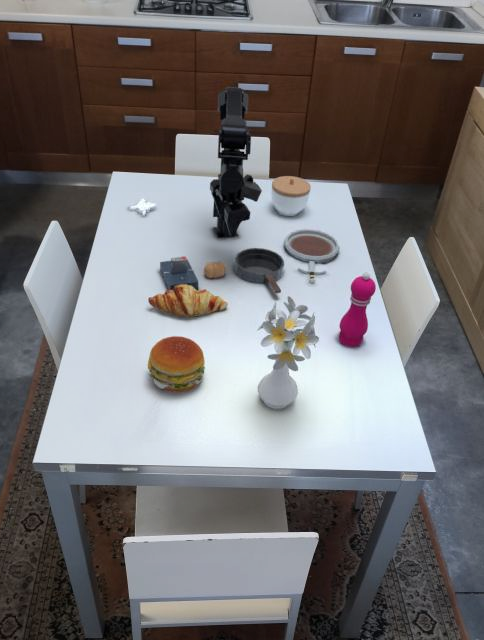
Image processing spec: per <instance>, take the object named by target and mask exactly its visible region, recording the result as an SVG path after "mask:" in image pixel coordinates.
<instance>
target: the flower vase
mask: <svg viewBox="0 0 484 640" xmlns="http://www.w3.org/2000/svg"><path fill="white" fill-rule="evenodd" d="M283 305H284V306H285V308H286V310H287V311H288V313H289V314H288V316H287V314H286V313H285V312H284V311H283V310H281V309H277V301H275V302H274V304H273V306H272V309H271V310H269V311H268V312H267V313H266V314H265V318H264V319H265V321H262V323H261V325H260V326H258V328H257V329H256V332H257V331H260V330H261V329H263V330H264V332H266V333H267V334H268V335H266V336H264V337H263V338H262V340H261V341H260V345H261V347H264V348H266V347H269V346H271V345H272V344H274V345H273V346H274V350H275V352H276V353H272V354H268V355H267V358H268V359H269V360H273V361H274V363H273V365H272V371H271V372H270V373H268V374H266V375H264V376H263V377H262V378H261V379H260V380H259V383H258V385H257V393H258V397H260V399H261V400H262V401H263V403H264V404H265V405H266V406H267V407H268V408H271V409H274V410H281V409H284V408H287V406H289V405H290V404H292V403H293V402H295V400H296V399H297V397H298V394H299V387H298V384H297V382H296V380H295V379H294V378H293V377H292V376H291V375H290V370H291V371H292V372H298V371H299V366H298V364H297V362H303V361H305V360H306V359H307V360H310V359H311V356H312V351H311V348H310V347H309V346H314V348H316V344H317V343H319V342H320V337H319V336H318V335H316V330H315V323H316V315H315V312H313V313H312V315H311V316H310V315H308V314H306V312H307V311H308V310H309V307H308V306H307V305H305V304H299V305H297V306H296V302H295V301H294V299H293V298H292V296H289V295H288V296H287V302H286V301H283ZM277 318H278V319H277ZM302 319H303V320H302ZM305 320H308V322H307V321H305ZM302 326H304V327H303V328H297V327H302ZM295 328H296V329H295ZM292 348H293V349H292ZM300 352H301V353H302V355H299V354H300Z"/></svg>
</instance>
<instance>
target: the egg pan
mask: <svg viewBox="0 0 484 640" xmlns="http://www.w3.org/2000/svg"><path fill="white" fill-rule="evenodd" d="M233 269H234V272H235V274H236V276H238V277H239V278H240V279H242V280H244V281H246V282H248V283H253V284H269V283H268V282H267V280H266V279H265V275H266V274H271V275H272V277H273V278H274V280H275V281H278V280H279V279H281V278H282V276H283V274H284V269H285V260H284V259H283V256H281V255H280V254H279V253H278V252H275V251H273V250H271V249H267V248H261V247H250V248H246V249H243V250H241V251H240V252H239V251H238V253H236V255H235V257H234V268H233Z"/></svg>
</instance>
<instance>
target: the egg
mask: <svg viewBox="0 0 484 640" xmlns="http://www.w3.org/2000/svg"><path fill="white" fill-rule="evenodd" d="M226 272H227V267H226V265H225V263H223V262H222V261H210V262H208V263H206V264H205V265H204V267H203V273H204V275H205V277H207V278H208V279H219V278H222V277H223V276H224V275H225V274H226Z"/></svg>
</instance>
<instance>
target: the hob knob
mask: <svg viewBox="0 0 484 640" xmlns="http://www.w3.org/2000/svg"><path fill="white" fill-rule="evenodd" d="M187 260H188V258H187V256H186V255H181V256H177V257H170V261H171V272H172V274H173V273H182V272H187Z"/></svg>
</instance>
